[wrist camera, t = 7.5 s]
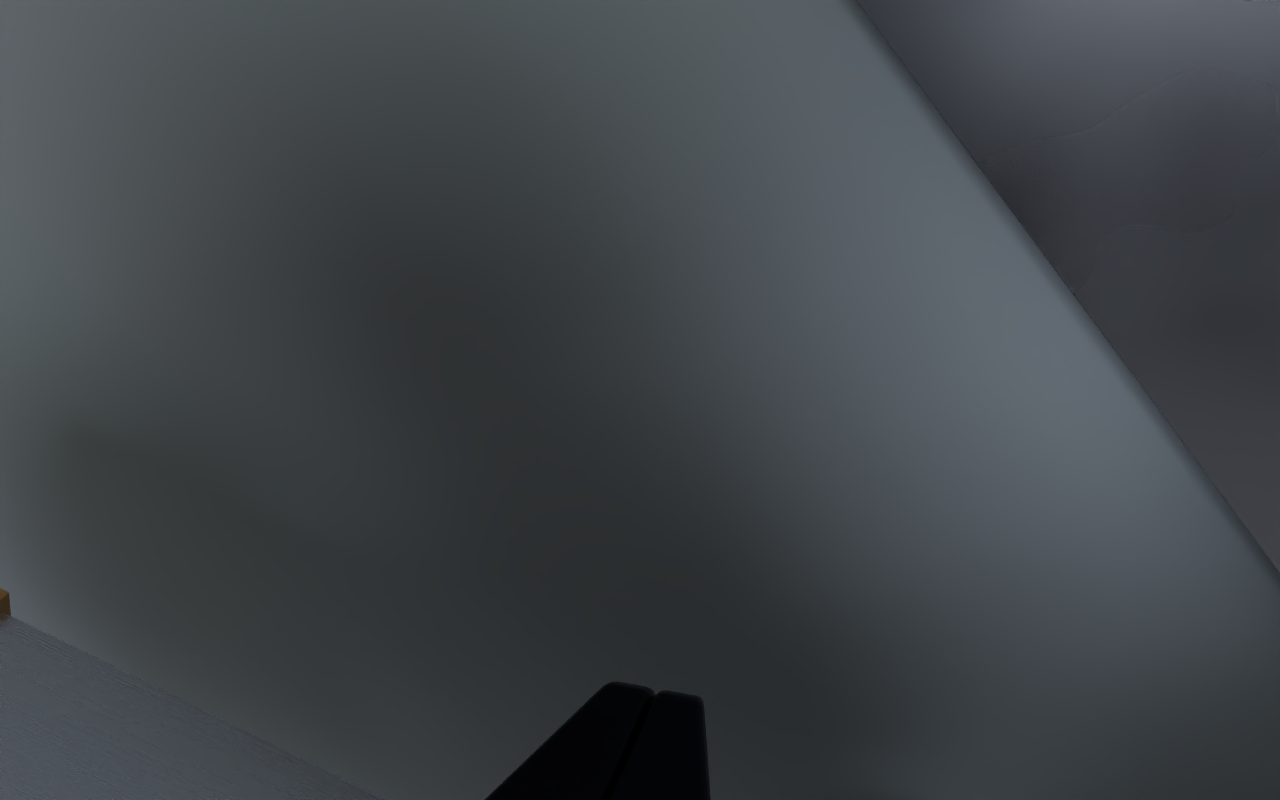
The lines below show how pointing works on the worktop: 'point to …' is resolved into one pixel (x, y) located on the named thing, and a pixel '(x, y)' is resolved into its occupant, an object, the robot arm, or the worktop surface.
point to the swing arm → (127, 736)
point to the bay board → (1138, 191)
